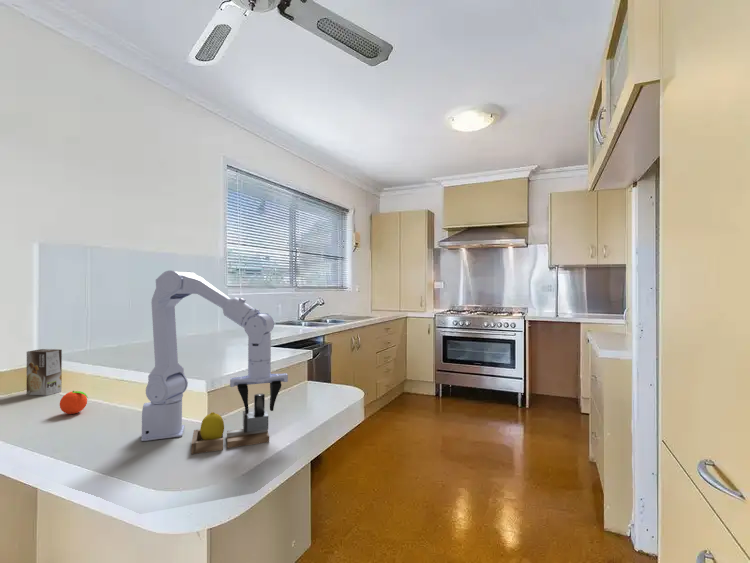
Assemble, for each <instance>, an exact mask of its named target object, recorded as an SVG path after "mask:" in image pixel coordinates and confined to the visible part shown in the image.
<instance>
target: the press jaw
mask: <svg viewBox="0 0 750 563" xmlns="http://www.w3.org/2000/svg"><path fill="white" fill-rule="evenodd" d="M265 395H266V394H265V393H255V394H254V395H253V398H254V400H253V401H254V402H253V404H254V407H253V408H254V409H253V411H249V412H248V414H246V413H245V410H243V411H242V429H243V430H244V433H246V432H251V431H259V430H267V429H268V430H269V413H268V412H267V410H265V405H266V404H265V400H266V399H265V398H266V397H265Z"/></svg>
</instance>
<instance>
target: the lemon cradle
mask: <svg viewBox="0 0 750 563" xmlns="http://www.w3.org/2000/svg"><path fill="white" fill-rule="evenodd" d="M200 429H201V428H200ZM200 429H194V430H193V434H192V439H191V443H190V444H191V450H190V451H191V453H190V454H191V455H197V454H203V453H210V452H217V451H223V450H224V434H223V435H222V437H221V438H219V439H212V440H203V438H202V436H201V432H200Z"/></svg>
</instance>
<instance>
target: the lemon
mask: <svg viewBox="0 0 750 563" xmlns="http://www.w3.org/2000/svg"><path fill="white" fill-rule="evenodd" d="M200 424H201V425H200V432H201V436H202V438H203V440H202V441H204V440H212V439H219V438H221V437H222V435H223V436H224V432H225V423H224V419H223V417H222V416H221V415H220V414H218V413H216V412H212V411H211V412H210V413H209V414H207V415H206V416H204V418H203V419H202V422H201V423H200ZM222 438H223V437H222Z"/></svg>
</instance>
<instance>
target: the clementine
mask: <svg viewBox="0 0 750 563" xmlns="http://www.w3.org/2000/svg"><path fill="white" fill-rule="evenodd" d="M88 399H89V397H88V395H87V394H86V393H85V392H84V391H78V390H72V391H69V392H67V393H66V394H64V395H63V396H62V397H61V399H60V401H59V408H60V411H62V412H63V413H64V414H68V415H75V414H78V413H80V412H81V411H83V410H84V409H85V408H86V406H87V405H88Z"/></svg>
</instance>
